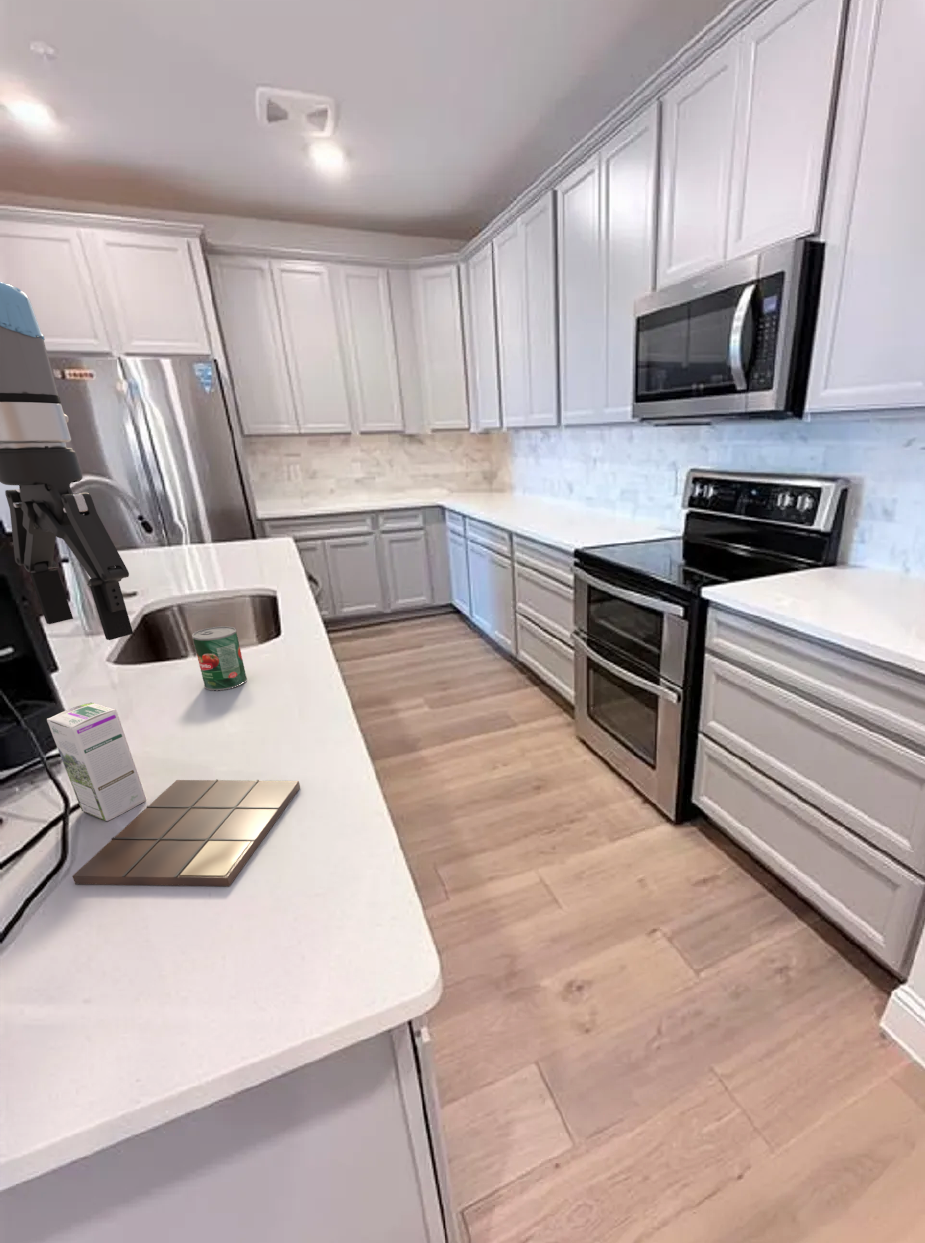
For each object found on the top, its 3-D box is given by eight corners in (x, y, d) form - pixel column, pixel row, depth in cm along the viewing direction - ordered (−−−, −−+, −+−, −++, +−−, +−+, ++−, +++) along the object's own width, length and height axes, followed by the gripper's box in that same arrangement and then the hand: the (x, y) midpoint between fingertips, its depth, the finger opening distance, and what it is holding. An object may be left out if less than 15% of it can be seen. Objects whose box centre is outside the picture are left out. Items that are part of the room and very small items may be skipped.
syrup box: (148, 800, 83) (119, 707, 77) (105, 823, 78) (70, 726, 72) (123, 790, 85) (92, 699, 79) (79, 813, 80) (43, 717, 75)
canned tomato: (255, 676, 124) (244, 626, 120) (231, 691, 117) (219, 639, 113) (220, 674, 126) (209, 625, 121) (195, 689, 118) (182, 637, 114)
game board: (74, 884, 67) (71, 875, 67) (178, 786, 86) (176, 779, 85) (229, 886, 67) (227, 877, 66) (300, 787, 85) (298, 780, 85)
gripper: (131, 445, 63) (179, 634, 71) (16, 444, 74) (69, 608, 82) (51, 447, 57) (113, 653, 65) (-62, 446, 68) (3, 622, 76)
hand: (88, 628), depth 73 cm, fingers open, 13 cm apart
